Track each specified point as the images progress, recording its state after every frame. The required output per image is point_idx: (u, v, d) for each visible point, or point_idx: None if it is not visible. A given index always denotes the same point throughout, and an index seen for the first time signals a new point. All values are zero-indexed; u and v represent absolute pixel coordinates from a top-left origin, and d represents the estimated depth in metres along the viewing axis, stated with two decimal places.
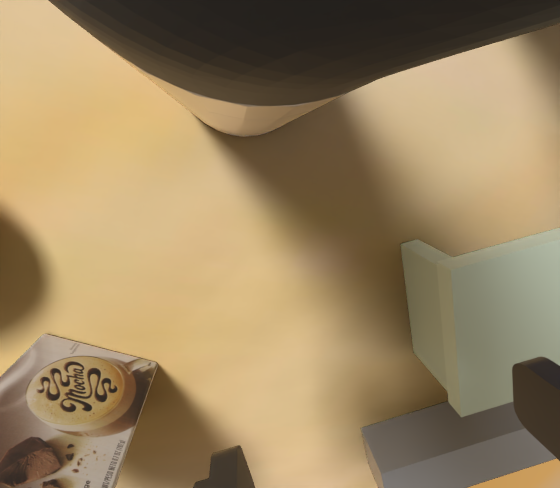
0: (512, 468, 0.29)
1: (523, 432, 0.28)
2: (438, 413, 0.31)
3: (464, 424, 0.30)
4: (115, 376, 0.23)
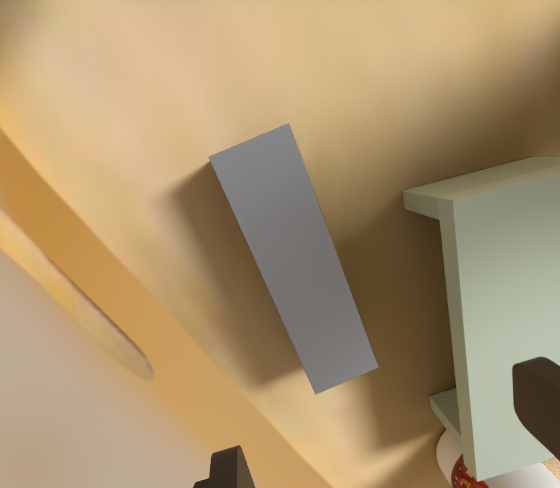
0: (293, 324, 0.22)
1: (352, 314, 0.22)
2: None
3: None
4: None
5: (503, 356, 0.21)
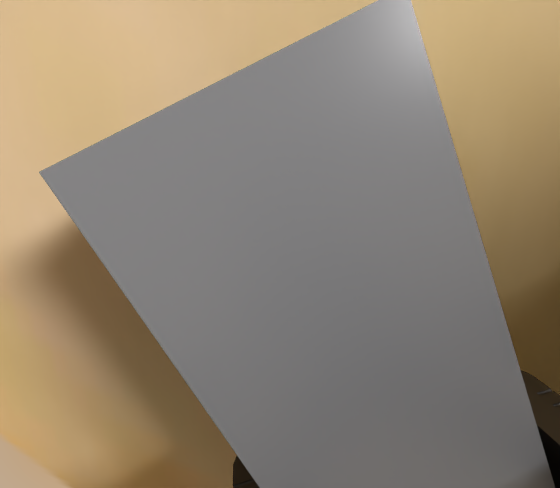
0: None
1: None
2: None
3: None
4: None
5: None
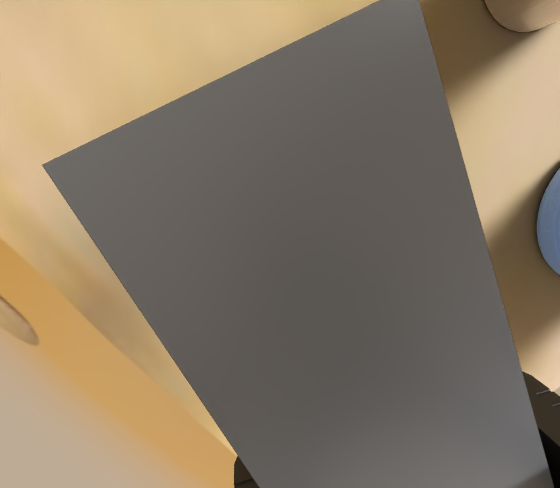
0: None
1: None
2: None
3: None
4: None
5: None
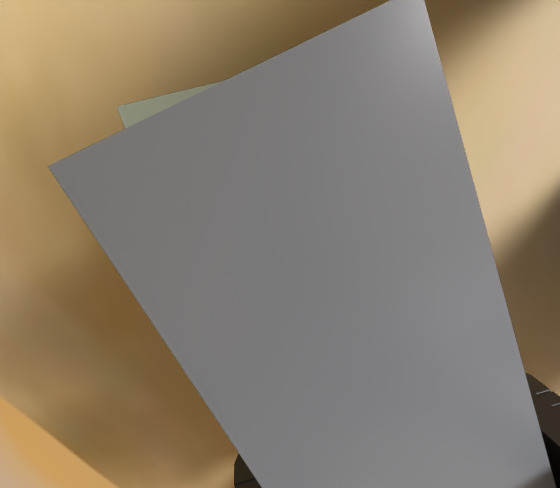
0: None
1: None
2: None
3: None
4: None
5: None
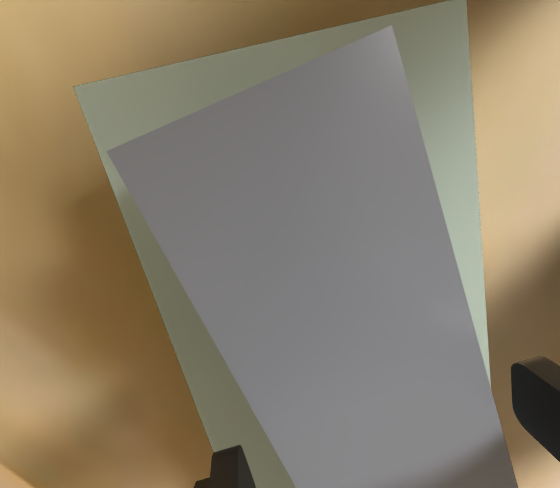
0: None
1: None
2: None
3: None
4: None
5: None
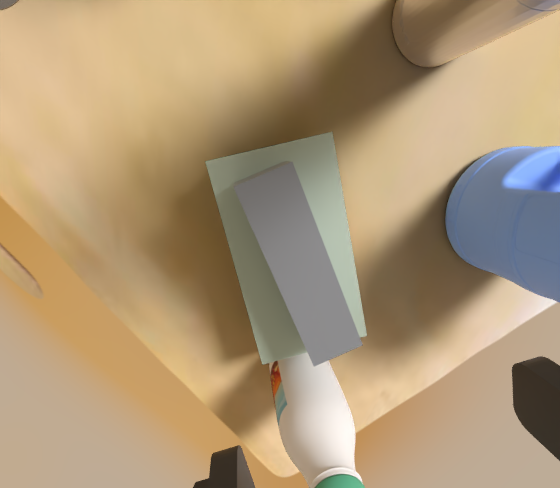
0: (296, 311, 0.28)
1: (342, 303, 0.29)
2: None
3: None
4: None
5: (262, 270, 0.32)
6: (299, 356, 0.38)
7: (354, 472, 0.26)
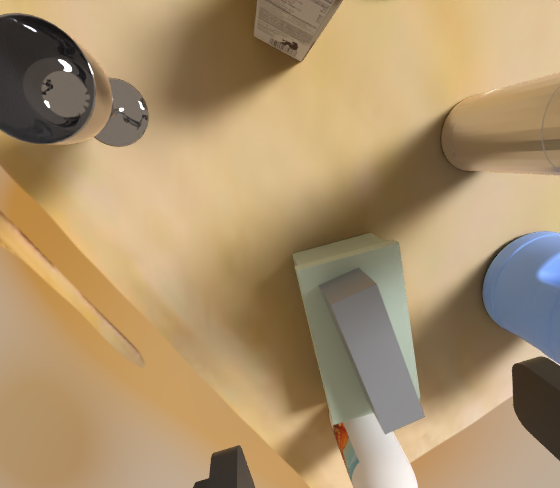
0: (373, 393, 0.35)
1: (409, 385, 0.35)
2: None
3: None
4: None
5: (337, 351, 0.39)
6: None
7: None
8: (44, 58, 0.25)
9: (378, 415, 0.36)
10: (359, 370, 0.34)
